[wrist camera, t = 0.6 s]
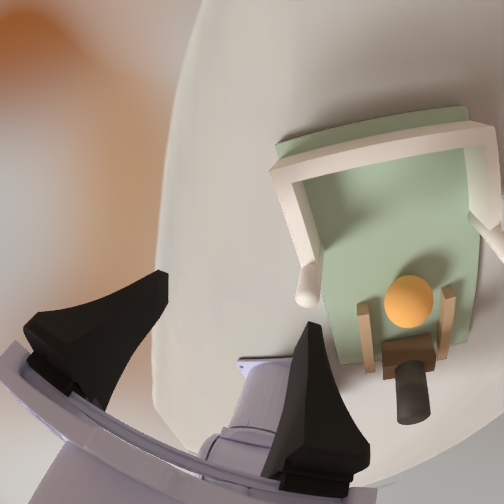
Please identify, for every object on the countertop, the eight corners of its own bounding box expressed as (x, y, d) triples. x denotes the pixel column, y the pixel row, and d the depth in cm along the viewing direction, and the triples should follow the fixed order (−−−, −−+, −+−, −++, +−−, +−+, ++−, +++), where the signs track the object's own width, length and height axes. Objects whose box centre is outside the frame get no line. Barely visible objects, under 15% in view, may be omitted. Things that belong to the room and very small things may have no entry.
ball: (426, 300, 20) (437, 333, 17) (383, 308, 22) (388, 342, 18) (426, 260, 19) (440, 292, 15) (379, 270, 20) (385, 303, 17)
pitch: (465, 334, 22) (481, 387, 16) (338, 357, 27) (332, 414, 22) (463, 105, 13) (517, 113, 7) (274, 143, 19) (246, 165, 13)
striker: (428, 349, 22) (440, 418, 16) (382, 357, 24) (383, 428, 18) (430, 330, 21) (445, 403, 15) (380, 339, 23) (384, 414, 16)
